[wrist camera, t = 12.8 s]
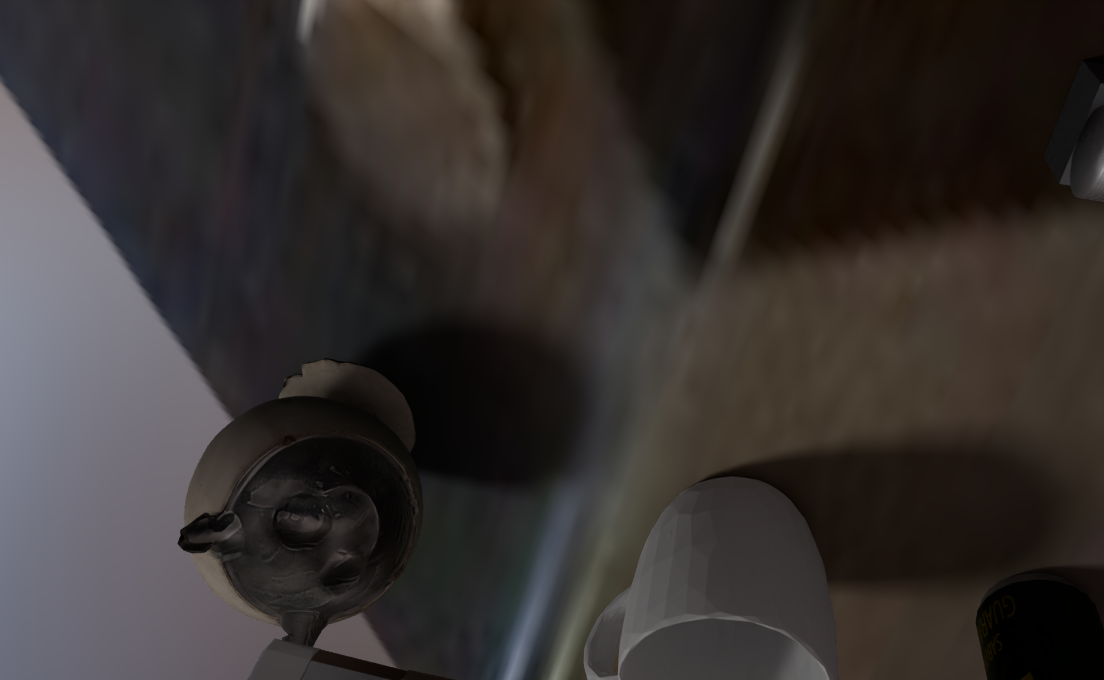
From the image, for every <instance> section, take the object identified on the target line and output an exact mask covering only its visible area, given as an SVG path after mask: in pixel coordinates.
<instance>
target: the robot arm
mask: <svg viewBox="0 0 1104 680" xmlns="http://www.w3.org/2000/svg"><path fill="white" fill-rule="evenodd" d="M248 680H454V679H450V678H445V677H440V676H435V675H431V674H426V673H421V672H417V671H412V670H408V671H405V670H401V669H397V668H393V667H389V666H385V665H380V664H377V663H373V662H369V661H365V660H361V659H357V658H353V657H349V656H344V655H341V654H337V653H333V652H329V651H325V650H321V649H318V648H314V647H310V646H305V645H301V644H297V643H292V642H288V641H284V640H279V639H274V640H273V641H272V642H271V643H270V644H269V645H268V646H267V647H266V648H265V650H264V651H263V652H262V654H261V655H260V657H259V659H258V661H257V663H256V665H255V667H254V668H253V670H252V672H251V674H250V676H249V678H248Z"/></svg>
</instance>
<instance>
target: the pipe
mask: <svg viewBox="0 0 1104 680" xmlns="http://www.w3.org/2000/svg"><path fill="white" fill-rule="evenodd" d="M1044 157H1045V159H1046V161H1047V163H1048V164H1049V166H1050V168H1051V170H1052V172H1053V173H1054V175H1055V177H1056V179H1057V180H1058V182H1059V184H1065V185H1071V190H1072V193H1073V194H1074V196H1076V197H1078V198H1084V199H1090V200H1096V201H1102V202H1104V64H1103V63H1096V62H1090V61H1083V60H1082V62H1081V64H1080V67H1079V69H1078V72H1077V74H1076V77H1075V79H1074V82H1073V84H1072V87H1071V89H1070V92H1069V94H1068V97H1067V99H1066V102H1065V104H1064V107H1063V109H1062V112H1061V114H1060V117H1059V119H1058V122H1057V124H1056V127H1055V129H1054V132H1053V134H1052V137H1051V139H1050V142H1049V144H1048V147H1047V149H1046V152H1045V154H1044Z"/></svg>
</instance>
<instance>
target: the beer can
mask: <svg viewBox="0 0 1104 680" xmlns="http://www.w3.org/2000/svg"><path fill="white" fill-rule="evenodd" d="M976 627H977V632H978V637H979V641H980V646H981V651H982V656H983V660H984V665H985V670H986V675H987V680H1104V629H1103V626H1102V623H1101V620H1100V617H1099V614H1098V611H1097V608H1096V605H1095V604H1094V603H1093V602H1092V601H1091V599H1090V598H1089V597H1088V596H1087V594H1085V593H1084V592H1083V591H1082V590H1081V589H1080V588H1079V587H1077V586H1076V585H1075V584H1073V583H1071V582H1070V581H1068V580H1066V579H1065V578H1062V577H1058V576H1055V575H1051V574H1046V573H1026V574H1020V575H1014V576H1012V577H1009V578H1007V579H1004V580H1002V581H999V582H998V583H997V584H995V585H994V586H993V587H991V588H990V589H989V590H988V591H987V593H986V594H985V596H984V597H983V599H982V601H981V603H980V605H979V608H978V611H977V617H976Z"/></svg>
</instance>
